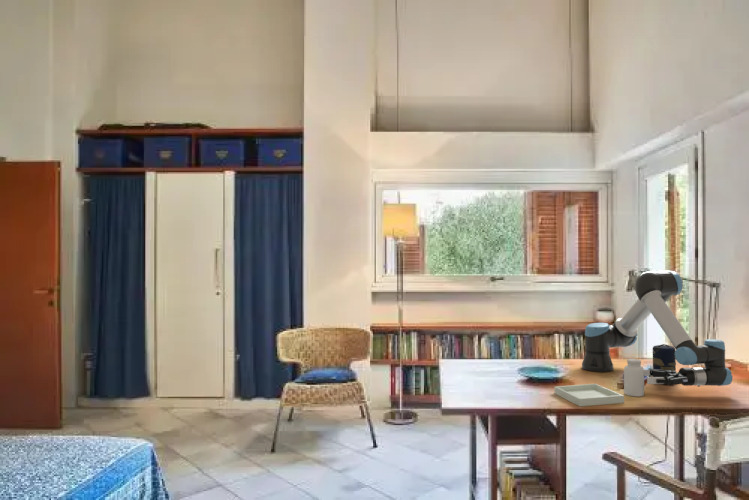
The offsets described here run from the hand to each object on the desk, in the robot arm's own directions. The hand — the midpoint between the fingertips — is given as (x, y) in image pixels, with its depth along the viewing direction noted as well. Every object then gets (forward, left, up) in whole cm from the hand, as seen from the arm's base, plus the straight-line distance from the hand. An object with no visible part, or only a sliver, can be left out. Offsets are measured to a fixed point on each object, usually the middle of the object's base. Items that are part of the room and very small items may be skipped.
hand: (640, 376), depth 241 cm
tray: (-1, -24, -8) cm, 26 cm away
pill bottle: (-1, -2, -8) cm, 8 cm away
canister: (-15, +24, -8) cm, 29 cm away
